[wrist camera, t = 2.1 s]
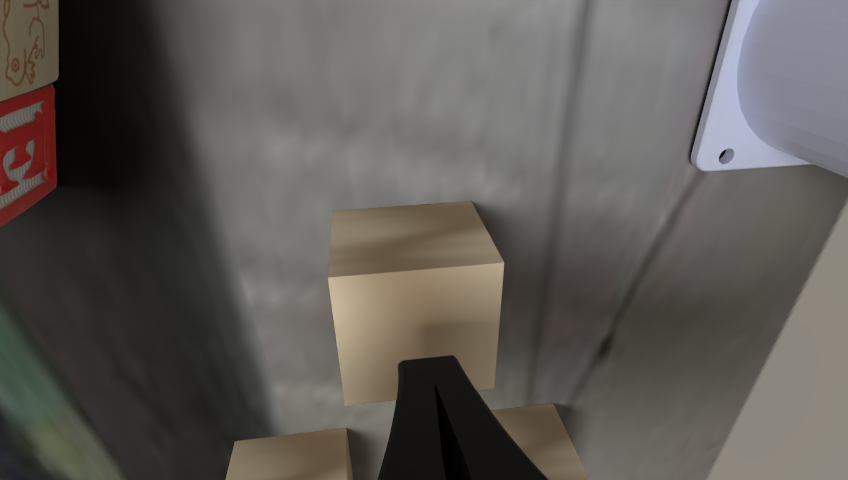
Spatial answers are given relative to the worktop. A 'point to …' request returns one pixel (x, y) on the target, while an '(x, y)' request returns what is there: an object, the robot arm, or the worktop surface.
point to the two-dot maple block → (293, 457)
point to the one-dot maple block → (543, 440)
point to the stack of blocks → (27, 103)
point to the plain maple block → (412, 294)
